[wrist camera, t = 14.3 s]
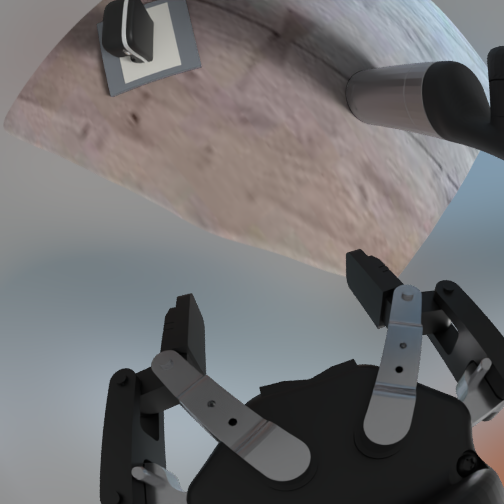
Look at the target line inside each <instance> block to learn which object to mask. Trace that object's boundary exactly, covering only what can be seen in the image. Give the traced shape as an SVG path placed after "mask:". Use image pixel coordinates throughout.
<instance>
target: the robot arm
mask: <svg viewBox="0 0 504 504" xmlns="http://www.w3.org/2000/svg"><path fill="white" fill-rule="evenodd" d="M487 64H488V77H489V89H490V106H489V103H488V100H487V98H486V95H485V92H484V89H483V87H482V85H481V83H480V82H479V80H478V78H477V77H476V76H475V74H474V73H473V72H472V71H471V70H470V69H469V68H468V67H466V66H465V65H463V64H461V63H458V62H454V61H439V62H424V63H414V64H404V65H396V66H389V67H382V68H375V69H369V70H364V71H360V72H358V73H356V74H354V75H353V76H352V77H351V79H350V80H349V82H348V85H347V90H346V97H347V102H348V105H349V107H350V109H351V111H352V112H353V114H354V115H355V116H356V117H357V118H358V119H359V120H361V121H362V122H364V123H367V124H371V125H377V126H383V127H388V128H394V129H399V130H404V131H409V132H414V133H418V134H423V135H427V136H432V137H436V138H440V139H444V140H447V141H451V142H455V143H459V144H463V145H466V146H469V147H473V148H476V149H479V150H481V151H484V152H486V153H489V154H491V155H494V156H496V157H498V158H500V159H502V160H504V46H499V47H496V48H493V49H491V50H490V52H489V53H488V58H487ZM346 278H347V283H348V286H349V288H350V289H351V291H352V292H353V294H354V295H355V296H356V298H357V299H358V301H359V302H360V303H361V305H362V306H363V308H364V309H365V311H366V312H367V314H368V315H369V316H370V318H371V319H372V321H373V322H374V324H375V325H376V327H377V328H378V329H380V328H382V327H385V326H386V327H387V329H388V330H387V335H386V340H385V345H384V350H383V355H382V358H381V363H380V367H378V366H375V365H366V364H364V365H363V364H362V365H357V364H356V362H355V360H354V359H352V360H349V361H346V362H344V363H341V364H338V365H335V366H332V367H330V368H329V369H327V370H325V371H324V372H322V373H320V374H318V375H317V376H315V377H313V378H311V379H308V380H295V381H282V382H279V383H275V384H271V385H267V386H263V387H260V392H261V394H259V395H257V396H256V397H254V398H252V399H251V400H250V401H248V402H247V403H246V404H245V405H244V404H243V403H242V402H240V401H239V400H238V399H236V398H235V397H234V396H232V395H231V394H230V393H229V392H227V391H226V390H225V389H224V388H222V387H221V386H220V385H218V384H217V383H216V382H215V381H214V380H213V379H211V378H210V377H209V376H208V375H206V359H205V327H204V321H203V317H202V315H201V312H200V310H199V308H198V305H197V303H196V301H195V299H194V296H193V294H192V293H191V294H187V295H182V296H178V297H177V301H176V307H174V308H170V309H169V311H168V313H167V314H166V316H165V323H164V329H163V330H164V331H163V336H162V343H161V351H160V353H159V354H158V355H156V356H155V358H154V359H153V361H152V363H151V367H149V368H147V369H145V370H143V371H140V372H138V373H136V374H135V372H134V371H133V370H131V369H128V368H125V369H121V370H119V371H117V372H116V373H115V374H114V375H113V376H112V378H111V380H110V384H109V390H108V396H107V403H106V410H105V418H104V427H103V439H102V450H101V467H100V501H101V504H504V488H503V485H502V483H501V481H500V479H499V476H498V475H497V473H496V472H495V471H494V470H493V469H492V468H491V467H490V466H488V465H487V464H486V463H485V462H484V461H482V459H481V458H480V457H479V456H478V455H477V453H476V451H475V448H474V444H473V438H472V427H473V426H474V425H476V424H477V423H479V422H480V421H489V420H491V419H492V418H494V416H496V415H497V414H498V413H499V411H500V410H501V409H502V408H503V407H504V337H503V336H502V335H501V333H500V332H499V331H498V329H497V328H496V327H495V326H494V325H493V323H492V322H491V321H490V320H489V319H488V317H487V316H486V315H485V314H484V313H483V312H482V311H481V309H480V308H479V307H478V306H477V305H476V304H475V303H474V302H473V301H472V299H471V298H470V297H469V296H468V295H467V294H466V293H465V292H464V291H463V290H462V289H461V288H460V287H459V286H458V285H457V284H456V283H454V282H452V281H448V280H443V281H440V282H438V283H437V284H436V287H435V291H426V292H420V290H419V289H418V288H417V287H415V286H412V285H404V284H403V283H402V282H401V281H400V280H399V279H398V278H397V277H396V276H395V275H394V274H393V273H392V272H391V271H390V270H389V268H388V267H387V266H385V264H384V263H383V262H382V261H381V260H380V259H378V258H376V257H373V256H367V255H366V254H365V253H364V252H363V251H362V250H361V249H358V250H355V251H351V252H348V253H347V254H346ZM451 321H452V323H453V324H454V325H455V327H456V328H457V330H458V331H457V330H456V329H455V327H454V326H453V325H452V323H451ZM422 335H427V336H428V337H429V339H430V340H431V342H432V343H433V345H434V346H435V348H436V349H437V351H438V352H439V354H440V355H441V357H442V359H443V360H444V362H445V363H446V365H447V366H448V368H449V370H450V371H451V373H452V374H453V376H454V378H455V380H456V381H457V386H456V394H457V396H458V397H457V398H456V397H453V396H451V395H448V394H445V393H443V392H440V391H438V390H435V389H432V388H430V387H427V386H425V385H422V384H420V383H418V382H417V379H418V372H419V364H420V354H421V345H422ZM178 404H180V405H181V406H182V407H183V408H184V409H185V410H186V411H187V412H188V413H189V414H190V415H191V416H192V417H193V418H194V419H195V420H196V421H197V422H198V423H199V424H200V425H201V426H202V427H203V428H204V429H205V430H206V431H207V432H208V433H209V434H210V435H211V436H212V437H213V438H214V439H215V440H216V441H218V445H217V446H216V448H215V449H214V451H213V452H212V454H211V455H210V457H209V458H208V460H207V461H206V463H205V464H204V466H203V467H202V468H201V470H200V471H199V473H198V474H197V475H196V477H195V478H194V479H193V481H192V482H191V484H190V486H189V488H188V491H187V492H184V491H183V489H182V488H181V486H180V483H179V480H178V478H177V477H176V476H175V475H174V474H173V473H171V472H170V471H168V470H166V459H165V441H164V410H166V409H169V408H171V407H173V406H176V405H178Z"/></svg>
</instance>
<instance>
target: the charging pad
mask: <svg viewBox="0 0 504 504" xmlns="http://www.w3.org/2000/svg"><path fill="white" fill-rule="evenodd" d="M144 7H145V8H146V10H147V12H148V14H149V16H150V17H151V19H152V20H153V22H154V35H153V60H152V61H151V62H148V63H134V62H132V61H131V59H130V56H126V57H120V58H118V57H115V56H113V55H111V54H110V53H109V52H107V51H106V50H105V49H104V48H103V46H102V28H103V21H102V22H100V23H98V24H97V29H98V35H99V41H100V47H101V53H102V58H103V63H104V68H105V73H106V78H107V82H108V86H109V91H110V95H111V97H115V96H117V95H119V94H122V93H124V92H127V91H129V90H132V89H134V88H137V87H140V86H142V85H145V84H148V83H151V82H154V81H157V80H160V79H163V78H166V77H169V76H172V75H176V74H179V73H183V72H186V71H190V70H193V69H197V68H201V67H202V66H201V62H200V58H199V54H198V50H197V46H196V41H195V37H194V33H193V29H192V25H191V21H190V16H189V12H188V8H187V4H186V0H157V1H154V2H151V3H148V4H145V5H144Z"/></svg>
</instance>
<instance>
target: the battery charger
mask: <svg viewBox="0 0 504 504" xmlns="http://www.w3.org/2000/svg"><path fill="white" fill-rule="evenodd" d="M153 35H154V22H153V20H152V19H151V17H150V16H149V14H148V12H147V10H146V8H145V7H144V5H143V4H142V2H141V1H140V0H115V1H112V2H110V3H109V4H108V5H107V6H106V7H105V10H104V17H103V28H102V46H103V48H104V49H105V50H106V51H107V52H109V53H110V54H111V55H113V56H115V57H118V58H120V57H126V56H130V59H131V61H132V62H134V63H148V62H151V61H152V60H153Z"/></svg>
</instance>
